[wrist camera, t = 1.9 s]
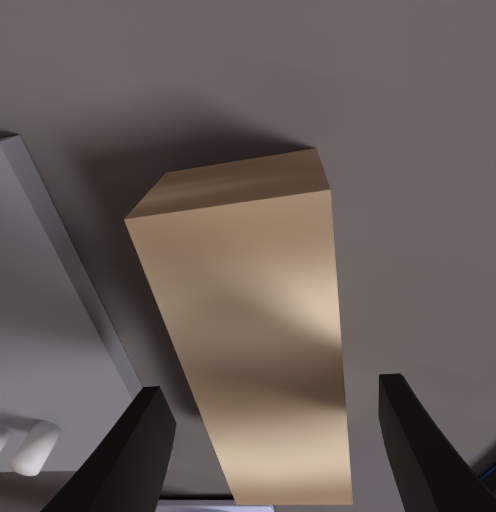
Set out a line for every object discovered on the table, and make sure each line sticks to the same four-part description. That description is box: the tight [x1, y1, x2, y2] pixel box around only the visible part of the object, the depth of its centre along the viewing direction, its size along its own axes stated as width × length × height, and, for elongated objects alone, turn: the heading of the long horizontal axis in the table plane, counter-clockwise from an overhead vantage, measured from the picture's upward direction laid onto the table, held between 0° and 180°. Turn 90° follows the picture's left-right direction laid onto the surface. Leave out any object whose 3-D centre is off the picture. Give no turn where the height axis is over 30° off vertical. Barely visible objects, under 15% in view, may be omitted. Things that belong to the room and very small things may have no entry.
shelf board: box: [124, 148, 353, 505], centre depth 13 cm, size 14×5×4 cm, turn 11°
